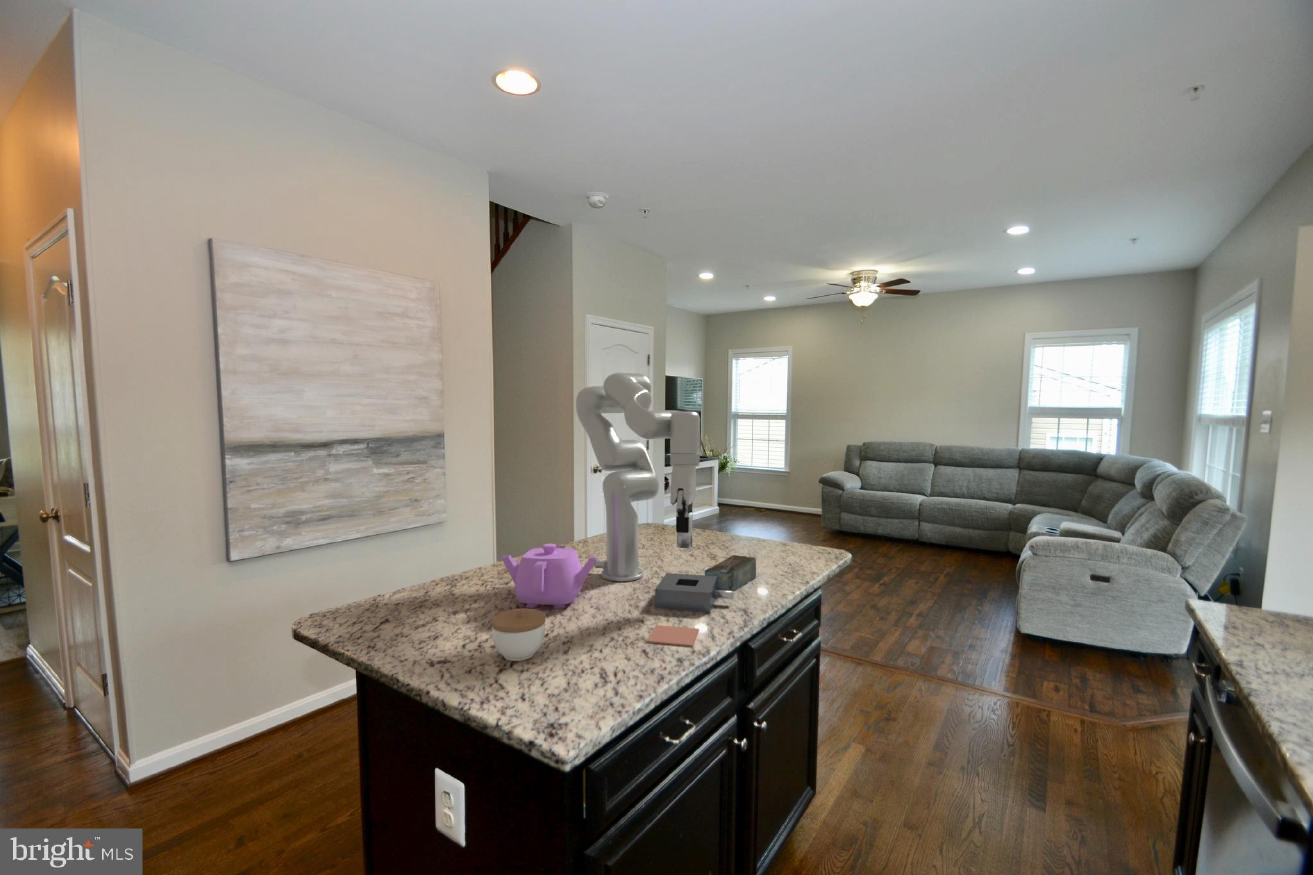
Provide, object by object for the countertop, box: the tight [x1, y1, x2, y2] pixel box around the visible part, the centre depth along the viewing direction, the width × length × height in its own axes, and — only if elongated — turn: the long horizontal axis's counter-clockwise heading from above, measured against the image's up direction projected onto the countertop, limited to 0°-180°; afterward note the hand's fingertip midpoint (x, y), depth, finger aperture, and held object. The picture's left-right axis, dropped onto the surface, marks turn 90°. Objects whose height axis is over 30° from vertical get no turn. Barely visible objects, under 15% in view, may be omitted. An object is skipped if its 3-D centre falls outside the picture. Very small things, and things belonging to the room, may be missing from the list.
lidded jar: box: [490, 608, 546, 662], centre depth 115 cm, size 11×11×9 cm
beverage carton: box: [704, 554, 757, 592], centre depth 162 cm, size 8×19×7 cm, turn 147°
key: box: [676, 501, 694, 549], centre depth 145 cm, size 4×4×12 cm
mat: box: [646, 624, 700, 648], centre depth 125 cm, size 10×9×1 cm
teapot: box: [501, 543, 598, 610], centre depth 147 cm, size 19×18×15 cm
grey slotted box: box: [654, 572, 735, 614], centre depth 146 cm, size 19×14×5 cm
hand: (684, 529), depth 145 cm, fingers closed on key, 4 cm apart
